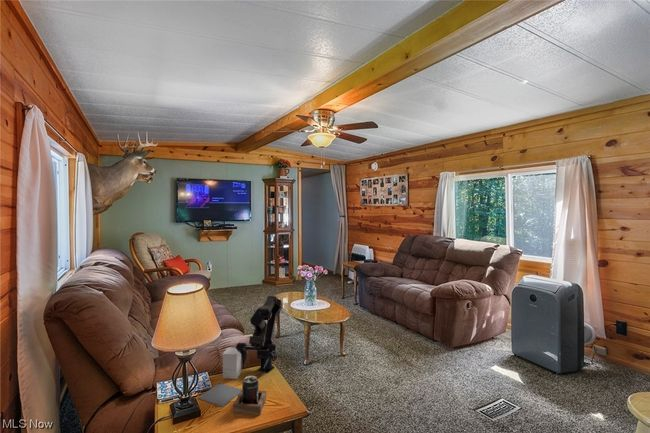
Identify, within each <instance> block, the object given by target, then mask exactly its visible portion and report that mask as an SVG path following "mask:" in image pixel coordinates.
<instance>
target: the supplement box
mask: <svg viewBox="0 0 650 433" xmlns="http://www.w3.org/2000/svg"><path fill="white" fill-rule="evenodd" d="M241 373H242V355H241V353H240V352H238V351H237V349H236V347H227V348H226V349H225V351H224V352H223V353H222V378H223V379H233V380H237V379H238V377H239V376H240V374H241Z"/></svg>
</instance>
